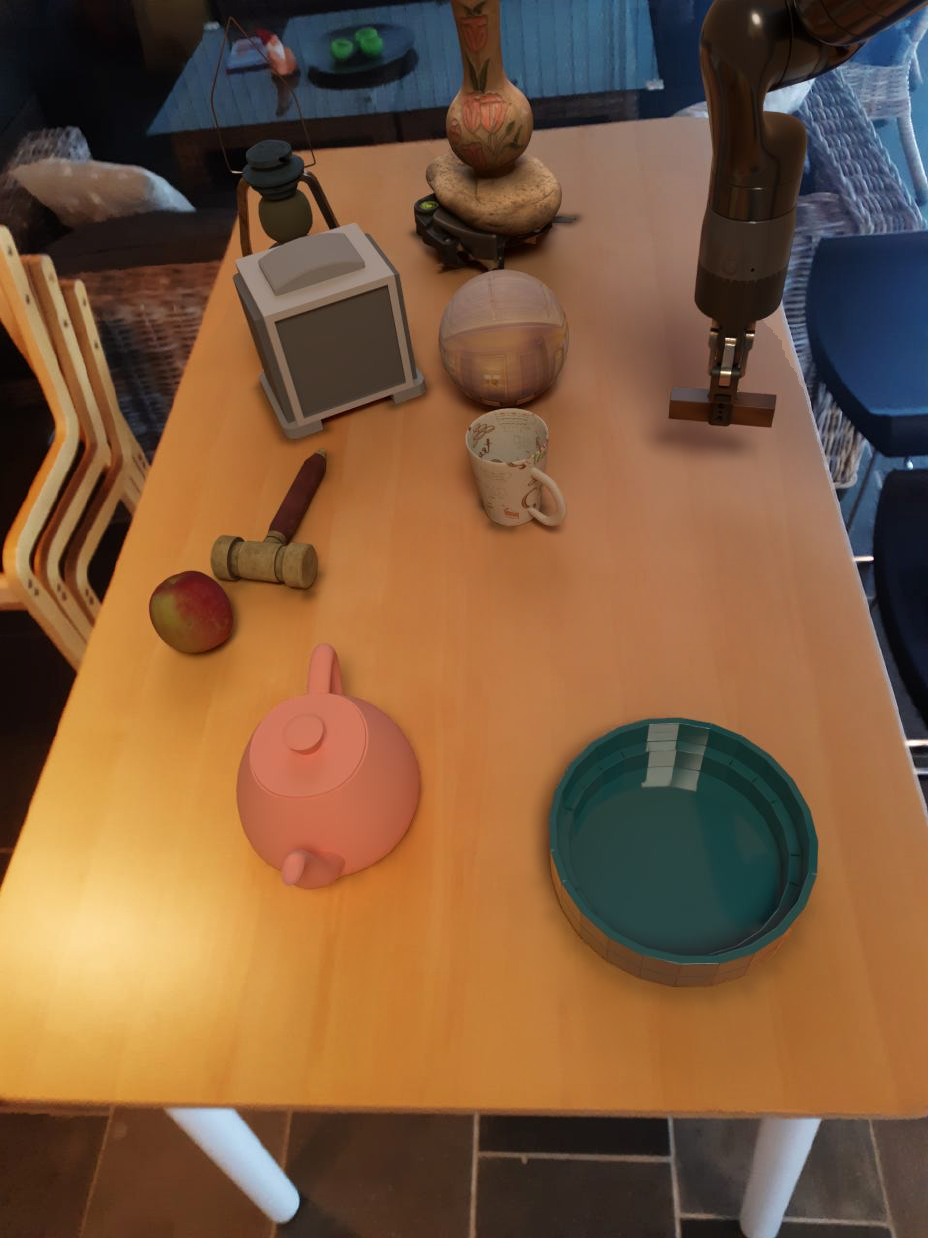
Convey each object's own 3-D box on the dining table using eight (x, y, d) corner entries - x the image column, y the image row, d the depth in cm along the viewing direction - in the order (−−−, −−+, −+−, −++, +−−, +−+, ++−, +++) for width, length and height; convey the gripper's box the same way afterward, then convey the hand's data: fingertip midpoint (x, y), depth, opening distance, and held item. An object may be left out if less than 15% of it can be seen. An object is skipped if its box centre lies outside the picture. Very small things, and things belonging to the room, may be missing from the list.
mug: (513, 469, 99) (507, 397, 91) (596, 523, 92) (598, 450, 85) (458, 508, 96) (448, 437, 88) (541, 567, 90) (537, 496, 82)
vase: (393, 279, 125) (342, -8, 98) (431, 200, 138) (395, -73, 111) (557, 285, 120) (552, -17, 93) (580, 202, 133) (581, -84, 106)
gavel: (279, 430, 102) (360, 436, 100) (288, 461, 105) (367, 468, 103) (204, 556, 89) (296, 566, 87) (217, 587, 92) (306, 597, 90)
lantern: (361, 273, 127) (302, -11, 100) (353, 320, 120) (287, 29, 93) (266, 281, 129) (181, 3, 101) (252, 328, 121) (157, 43, 94)
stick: (772, 413, 88) (776, 394, 86) (771, 428, 87) (775, 408, 85) (671, 405, 90) (672, 385, 88) (668, 418, 89) (669, 399, 87)
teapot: (421, 938, 68) (395, 878, 58) (231, 947, 69) (174, 889, 59) (426, 697, 81) (405, 616, 72) (266, 708, 82) (225, 629, 73)
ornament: (592, 376, 107) (594, 262, 96) (524, 448, 101) (517, 335, 89) (492, 342, 114) (482, 231, 102) (422, 407, 107) (402, 297, 95)
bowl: (806, 778, 72) (822, 742, 68) (794, 1020, 62) (812, 996, 57) (576, 735, 77) (576, 699, 72) (526, 953, 66) (523, 926, 61)
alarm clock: (392, 338, 117) (366, 202, 102) (428, 392, 109) (406, 253, 94) (260, 382, 114) (214, 249, 99) (288, 442, 106) (242, 306, 91)
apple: (242, 599, 91) (217, 546, 85) (243, 661, 86) (216, 610, 80) (169, 613, 91) (139, 562, 85) (166, 677, 86) (133, 627, 80)
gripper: (785, 301, 70) (753, 465, 83) (795, 212, 78) (764, 374, 91) (689, 295, 72) (673, 457, 85) (708, 209, 80) (690, 369, 93)
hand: (720, 413), depth 88 cm, fingers closed on stick, 2 cm apart
